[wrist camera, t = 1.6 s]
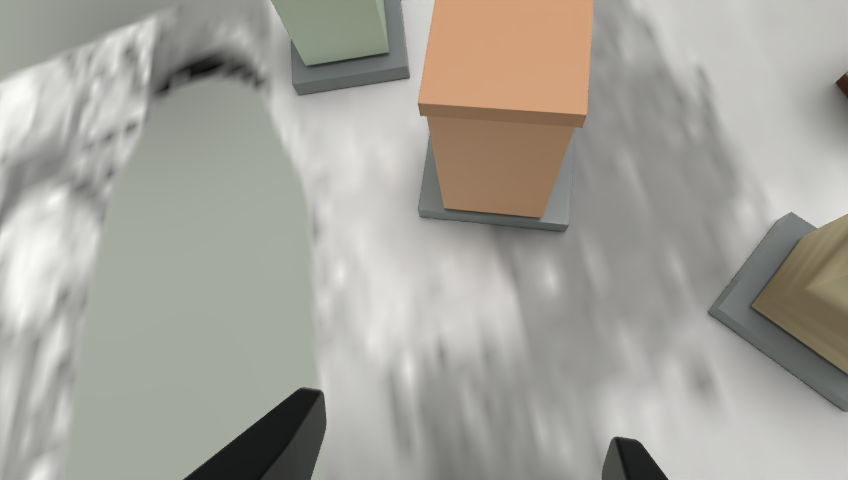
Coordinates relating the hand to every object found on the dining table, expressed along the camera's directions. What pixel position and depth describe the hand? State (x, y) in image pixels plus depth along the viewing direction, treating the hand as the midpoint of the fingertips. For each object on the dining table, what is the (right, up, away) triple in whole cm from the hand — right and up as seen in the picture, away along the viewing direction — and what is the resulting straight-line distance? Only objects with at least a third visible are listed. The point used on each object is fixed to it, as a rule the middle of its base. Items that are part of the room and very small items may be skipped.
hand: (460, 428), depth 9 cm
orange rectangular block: (+3, +6, +15) cm, 16 cm away
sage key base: (-5, +14, +19) cm, 24 cm away
